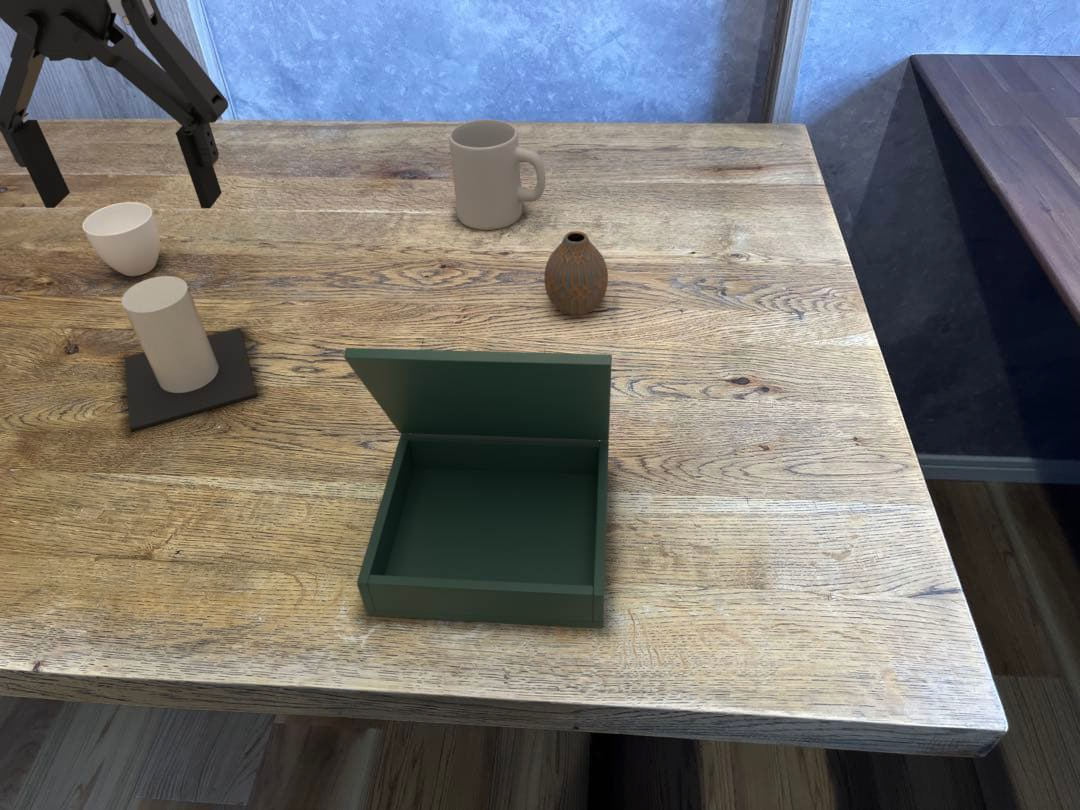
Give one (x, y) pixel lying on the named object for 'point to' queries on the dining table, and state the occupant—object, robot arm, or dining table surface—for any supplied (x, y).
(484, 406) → the lid
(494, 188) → the mug
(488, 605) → the box
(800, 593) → the dining table surface
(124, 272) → the cup
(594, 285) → the vase
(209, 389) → the mat
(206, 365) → the beige cylinder
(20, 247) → the dining table surface
